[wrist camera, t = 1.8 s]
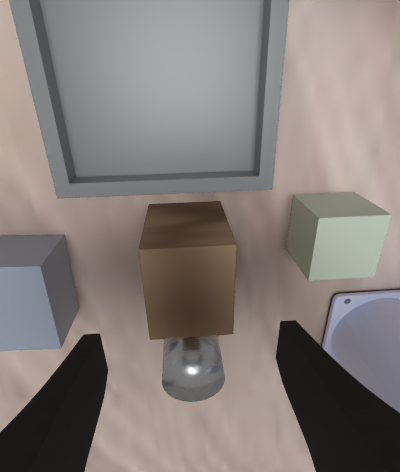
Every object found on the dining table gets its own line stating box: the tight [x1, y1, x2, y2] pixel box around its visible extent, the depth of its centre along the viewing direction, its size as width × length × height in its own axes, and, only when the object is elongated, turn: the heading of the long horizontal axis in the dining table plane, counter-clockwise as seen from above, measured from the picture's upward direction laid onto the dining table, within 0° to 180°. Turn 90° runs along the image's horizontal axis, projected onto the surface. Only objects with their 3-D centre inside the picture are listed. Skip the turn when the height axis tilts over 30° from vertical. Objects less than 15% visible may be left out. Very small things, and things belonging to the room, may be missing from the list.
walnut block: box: [139, 201, 237, 340], centre depth 18 cm, size 4×6×6 cm
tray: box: [9, 0, 289, 198], centre depth 15 cm, size 12×12×2 cm
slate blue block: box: [0, 235, 79, 351], centre depth 19 cm, size 4×6×4 cm, turn 179°
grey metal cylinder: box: [162, 335, 225, 402], centre depth 21 cm, size 4×4×5 cm
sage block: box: [287, 192, 392, 281], centre depth 19 cm, size 4×4×4 cm
